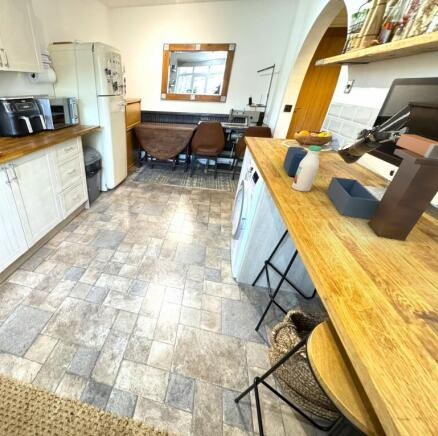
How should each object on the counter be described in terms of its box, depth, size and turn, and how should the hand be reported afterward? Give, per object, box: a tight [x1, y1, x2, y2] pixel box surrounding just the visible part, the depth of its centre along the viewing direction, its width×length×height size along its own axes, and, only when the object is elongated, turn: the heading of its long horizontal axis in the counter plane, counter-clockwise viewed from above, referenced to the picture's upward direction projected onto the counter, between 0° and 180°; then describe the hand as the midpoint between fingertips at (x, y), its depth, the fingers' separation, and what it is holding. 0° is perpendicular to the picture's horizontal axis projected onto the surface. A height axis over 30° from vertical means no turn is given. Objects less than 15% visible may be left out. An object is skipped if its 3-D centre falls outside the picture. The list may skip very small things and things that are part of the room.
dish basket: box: [325, 176, 380, 220], centre depth 98 cm, size 9×23×8 cm, turn 159°
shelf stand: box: [367, 148, 438, 242], centre depth 77 cm, size 10×12×26 cm
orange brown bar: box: [395, 133, 438, 159], centre depth 74 cm, size 18×4×4 cm, turn 159°
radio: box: [282, 137, 308, 178], centre depth 130 cm, size 21×9×20 cm, turn 162°
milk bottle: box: [291, 145, 322, 193], centre depth 109 cm, size 8×8×20 cm
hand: (392, 128), depth 90 cm, fingers open, 8 cm apart
